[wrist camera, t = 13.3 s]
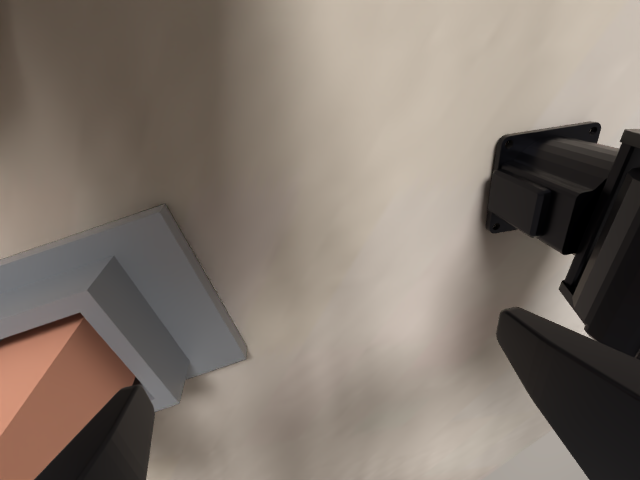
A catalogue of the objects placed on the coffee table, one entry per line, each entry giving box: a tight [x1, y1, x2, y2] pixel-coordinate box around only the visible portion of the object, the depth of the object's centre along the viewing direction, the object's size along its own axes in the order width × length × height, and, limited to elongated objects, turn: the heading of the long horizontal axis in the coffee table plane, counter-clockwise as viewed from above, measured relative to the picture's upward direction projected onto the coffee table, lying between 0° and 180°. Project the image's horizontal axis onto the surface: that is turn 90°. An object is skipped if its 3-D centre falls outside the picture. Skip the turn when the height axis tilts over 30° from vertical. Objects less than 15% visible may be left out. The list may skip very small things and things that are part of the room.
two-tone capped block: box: [0, 313, 136, 480], centre depth 15 cm, size 5×5×14 cm
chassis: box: [0, 204, 247, 412], centre depth 20 cm, size 22×15×5 cm
